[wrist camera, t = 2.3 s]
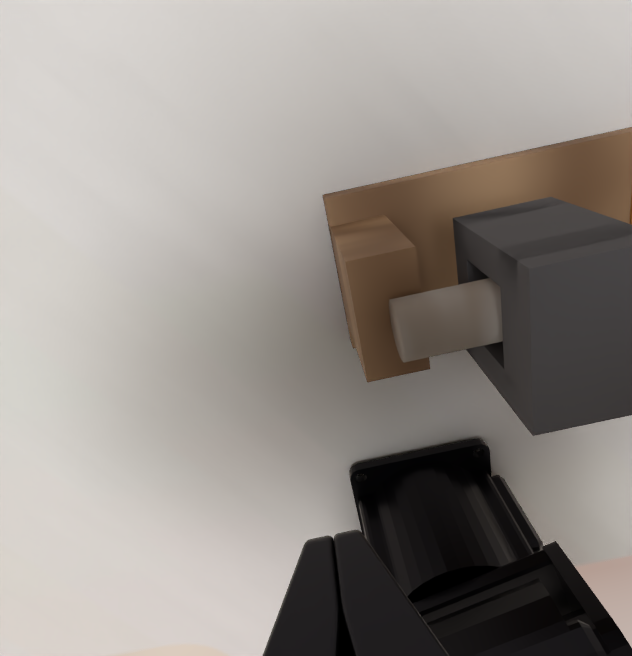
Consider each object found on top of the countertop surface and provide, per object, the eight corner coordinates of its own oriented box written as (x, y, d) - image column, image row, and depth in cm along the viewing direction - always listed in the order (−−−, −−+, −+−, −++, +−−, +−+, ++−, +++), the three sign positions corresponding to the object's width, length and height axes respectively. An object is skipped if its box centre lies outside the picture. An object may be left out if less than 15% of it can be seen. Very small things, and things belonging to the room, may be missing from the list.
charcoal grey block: (463, 345, 17) (532, 435, 12) (452, 218, 15) (529, 268, 11) (551, 327, 17) (652, 410, 12) (551, 196, 15) (670, 238, 10)
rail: (350, 339, 21) (383, 443, 14) (322, 195, 18) (347, 244, 12) (733, 257, 21) (936, 326, 14) (758, 99, 18) (1018, 98, 12)
